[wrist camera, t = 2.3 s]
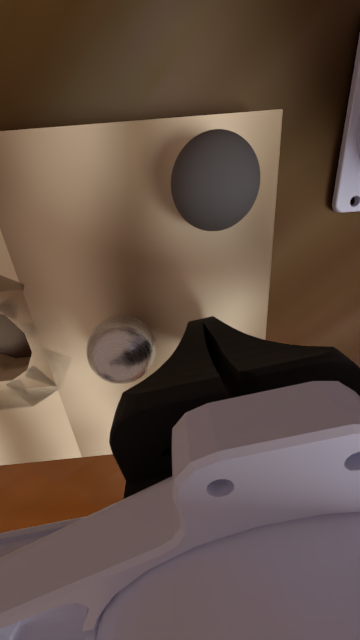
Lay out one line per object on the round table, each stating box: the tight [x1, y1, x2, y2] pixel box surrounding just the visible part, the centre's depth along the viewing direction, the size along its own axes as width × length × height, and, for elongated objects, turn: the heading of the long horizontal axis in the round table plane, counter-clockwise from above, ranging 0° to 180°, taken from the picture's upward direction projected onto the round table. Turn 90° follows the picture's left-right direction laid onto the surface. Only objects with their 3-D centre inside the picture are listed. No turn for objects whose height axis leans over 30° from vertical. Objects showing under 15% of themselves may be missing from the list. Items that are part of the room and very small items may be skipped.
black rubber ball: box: [171, 129, 260, 231], centre depth 9 cm, size 3×3×3 cm
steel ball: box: [86, 315, 156, 384], centre depth 11 cm, size 3×3×3 cm
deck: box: [0, 109, 283, 465], centre depth 14 cm, size 20×18×2 cm
